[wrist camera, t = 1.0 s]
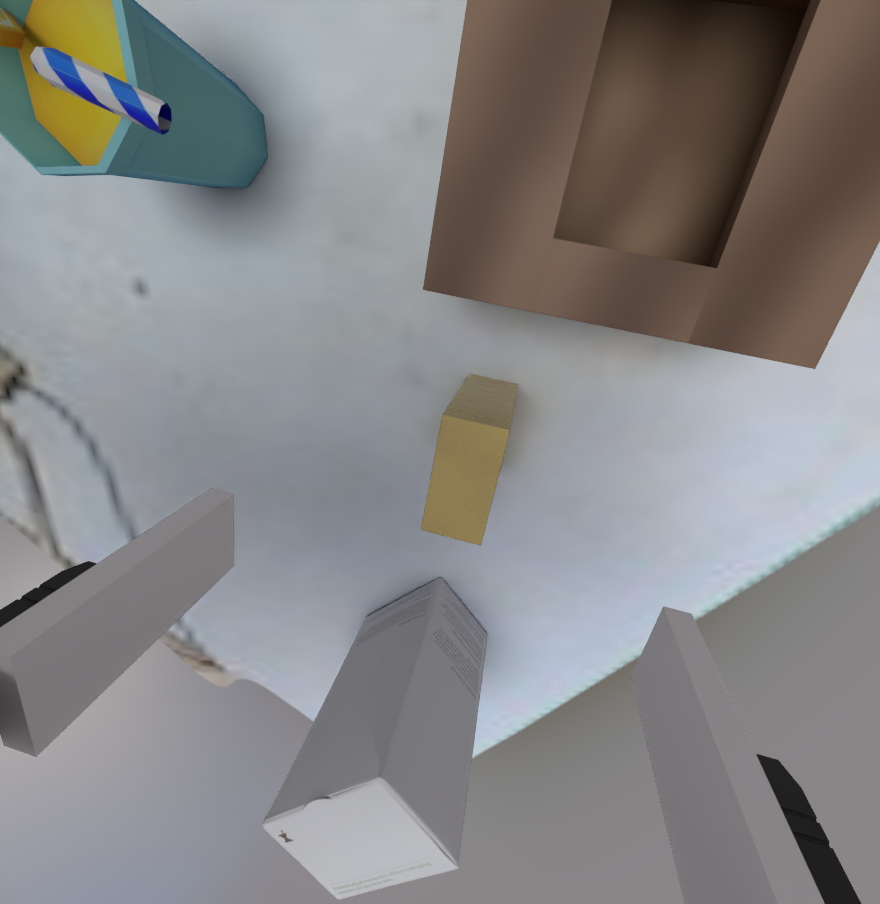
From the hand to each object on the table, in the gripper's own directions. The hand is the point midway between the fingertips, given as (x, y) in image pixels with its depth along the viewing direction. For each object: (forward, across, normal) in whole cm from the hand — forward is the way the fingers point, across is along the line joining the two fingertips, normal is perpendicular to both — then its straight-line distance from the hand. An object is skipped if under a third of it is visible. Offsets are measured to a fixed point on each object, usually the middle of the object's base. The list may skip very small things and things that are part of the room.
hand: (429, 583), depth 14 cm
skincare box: (+17, -1, -17) cm, 24 cm away
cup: (+17, -17, +13) cm, 27 cm away
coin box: (+17, +4, +15) cm, 23 cm away
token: (+17, 0, 0) cm, 17 cm away
